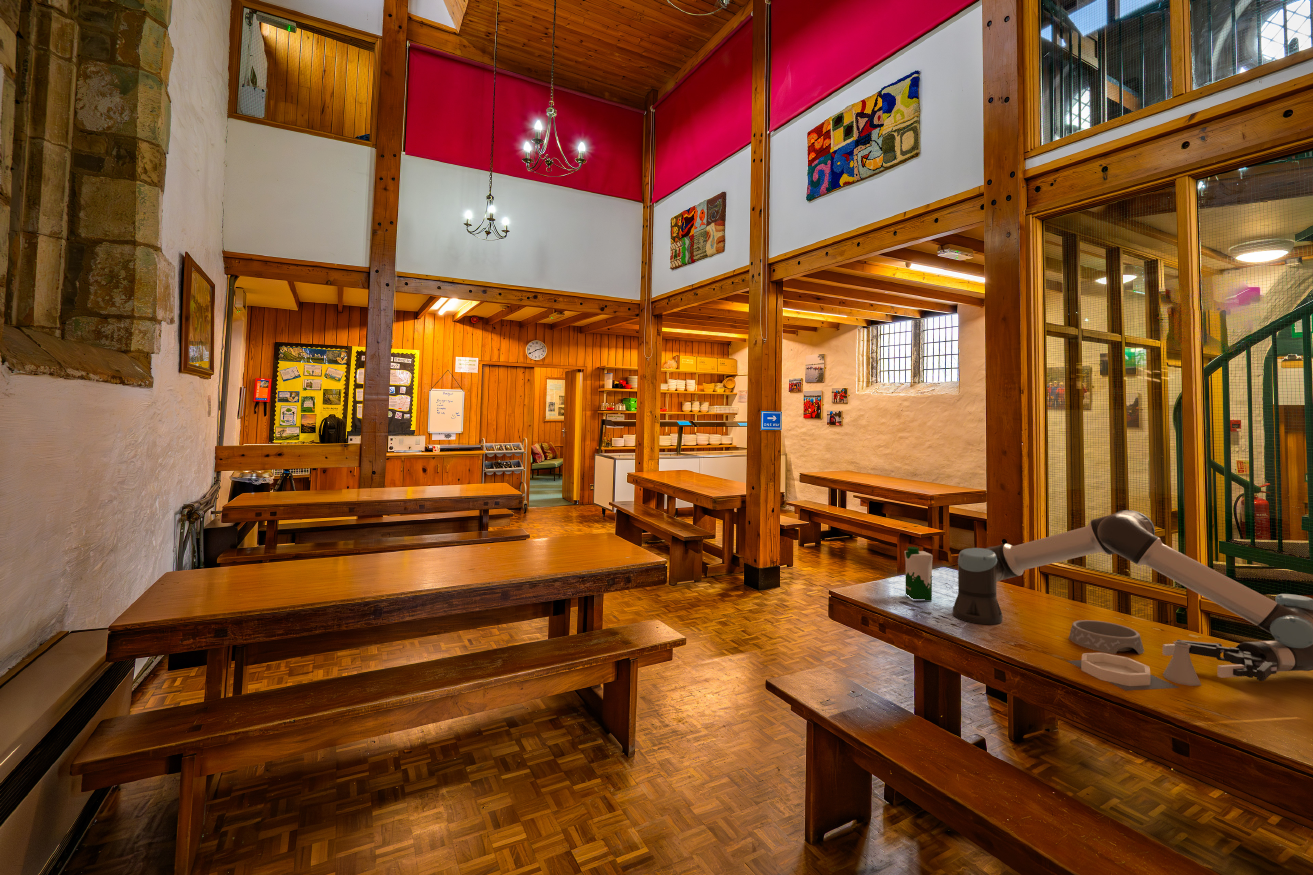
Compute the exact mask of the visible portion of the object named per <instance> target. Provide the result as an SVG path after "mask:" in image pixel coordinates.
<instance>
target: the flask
mask: <svg viewBox="0 0 1313 875" xmlns="http://www.w3.org/2000/svg"><path fill="white" fill-rule="evenodd" d="M1172 644H1175V650H1174V654H1173V655H1172V657H1171V659H1170V660H1169V663H1168V664H1167V666H1166V668H1165V670H1164V672H1163V673H1162V675H1163V677H1164V679H1165V680H1168V681H1170V682H1172V683H1175V684H1176V685H1177V684H1178V685H1182V686H1183V685H1184V686H1188V687H1196V686H1202V684H1201V681H1200V679H1199V676H1198V675H1197V674H1198V673H1197V671H1196V670H1195V668H1194V664H1193V663H1192V660H1191V655H1190V653H1189V648H1190V647H1191V645H1190V644H1188V643H1185V642H1180V641H1177V640H1176V641H1174V640H1173V641H1172Z"/></svg>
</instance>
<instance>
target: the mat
mask: <svg viewBox="0 0 1313 875" xmlns="http://www.w3.org/2000/svg"><path fill="white" fill-rule="evenodd" d="M1081 660H1082V659H1080V660H1079V659H1077V660H1066V662H1068V663H1069V664H1071V665H1074V666H1076V667H1078V668H1079V669H1081ZM1106 682H1108V681H1106ZM1108 683H1110V684H1112V685H1113V686H1115V687H1118V688H1120V689H1122V690H1123V691H1126V692H1127V691H1142V690H1144V691H1145V690H1160V689H1161V690H1162V689H1163V690H1164V689H1180V687H1179V686H1177V685H1175V684H1173V683H1171V682H1168V681H1166V680H1164V679H1161V678H1159V677H1158V676H1155V675H1153V674H1151V673H1150V685H1142V686H1126V685H1122V684H1117V683H1113V682H1108Z"/></svg>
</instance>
